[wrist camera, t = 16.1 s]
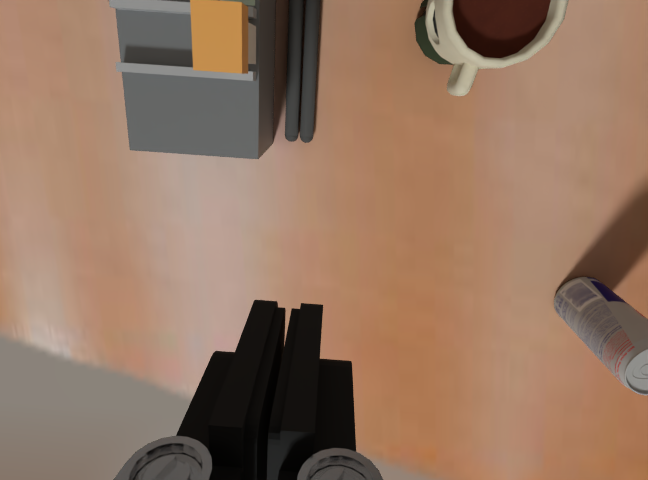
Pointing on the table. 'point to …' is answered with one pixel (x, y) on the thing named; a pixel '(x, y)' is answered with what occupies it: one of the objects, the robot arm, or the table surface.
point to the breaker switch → (222, 36)
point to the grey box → (193, 84)
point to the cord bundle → (295, 69)
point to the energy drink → (607, 329)
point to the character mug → (485, 34)
